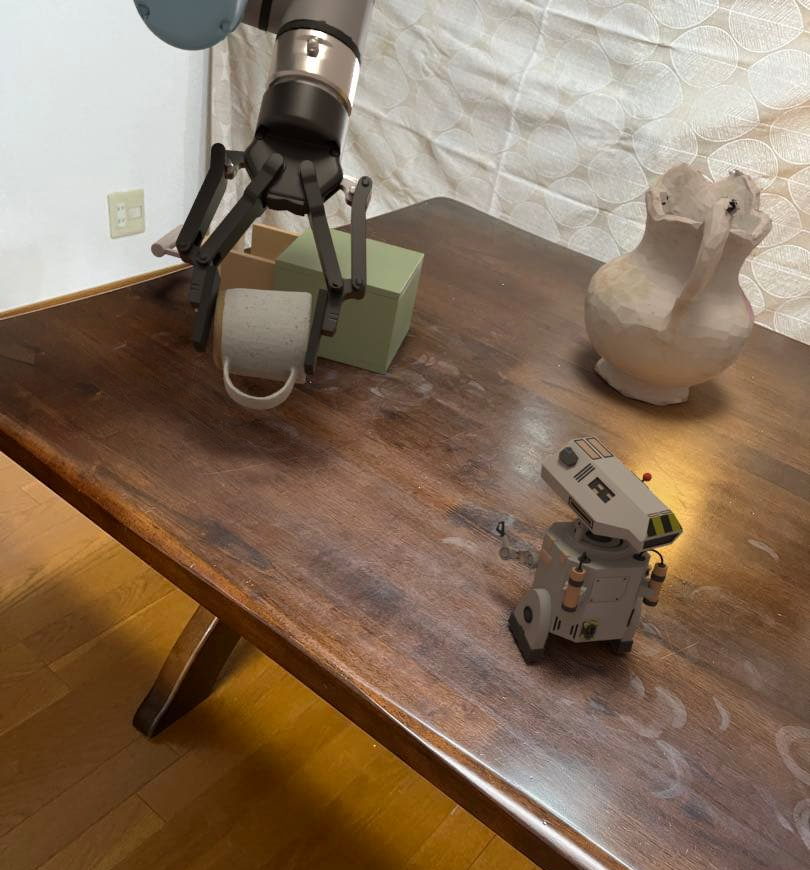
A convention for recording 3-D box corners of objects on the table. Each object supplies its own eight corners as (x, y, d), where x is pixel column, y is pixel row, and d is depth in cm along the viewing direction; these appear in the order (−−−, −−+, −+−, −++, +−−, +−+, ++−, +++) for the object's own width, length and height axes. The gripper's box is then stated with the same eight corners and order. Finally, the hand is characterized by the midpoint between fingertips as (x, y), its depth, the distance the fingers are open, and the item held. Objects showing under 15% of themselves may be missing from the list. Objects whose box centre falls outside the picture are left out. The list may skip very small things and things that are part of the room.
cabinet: (267, 342, 96) (275, 259, 90) (302, 300, 106) (311, 223, 100) (384, 374, 95) (400, 293, 89) (409, 329, 105) (424, 253, 99)
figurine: (576, 570, 75) (636, 424, 65) (636, 670, 66) (716, 519, 57) (479, 575, 72) (528, 423, 62) (530, 680, 64) (595, 523, 54)
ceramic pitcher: (734, 452, 99) (860, 243, 84) (575, 413, 95) (677, 189, 80) (686, 363, 116) (784, 176, 100) (549, 328, 112) (630, 129, 97)
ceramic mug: (216, 345, 79) (220, 265, 74) (305, 356, 81) (315, 279, 76) (205, 408, 71) (209, 323, 66) (305, 419, 73) (316, 337, 68)
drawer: (141, 296, 97) (141, 228, 92) (184, 263, 106) (185, 198, 101) (301, 341, 96) (309, 274, 91) (330, 303, 105) (339, 240, 100)
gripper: (175, 48, 69) (113, 315, 67) (434, 107, 71) (383, 371, 68) (190, 104, 77) (134, 346, 74) (424, 157, 78) (377, 396, 76)
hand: (253, 358), depth 71 cm, fingers closed on ceramic mug, 8 cm apart
